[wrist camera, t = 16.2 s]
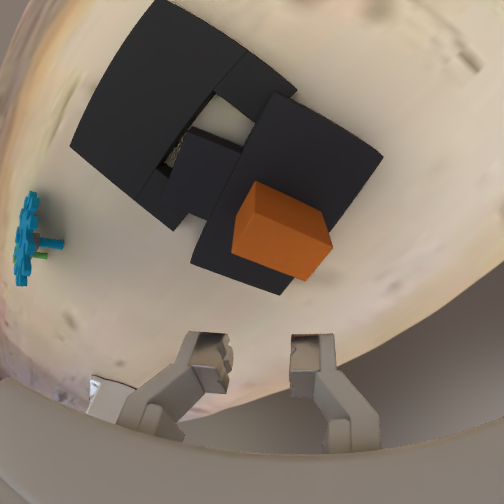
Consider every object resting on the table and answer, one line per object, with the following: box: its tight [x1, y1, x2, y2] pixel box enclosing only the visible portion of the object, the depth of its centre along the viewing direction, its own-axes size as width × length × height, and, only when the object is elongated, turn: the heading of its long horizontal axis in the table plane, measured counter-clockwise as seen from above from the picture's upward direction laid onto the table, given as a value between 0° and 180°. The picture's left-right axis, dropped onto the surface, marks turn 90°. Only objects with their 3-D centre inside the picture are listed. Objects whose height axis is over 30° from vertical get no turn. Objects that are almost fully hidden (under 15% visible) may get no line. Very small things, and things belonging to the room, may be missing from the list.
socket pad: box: [70, 0, 297, 231], centre depth 18 cm, size 14×12×2 cm
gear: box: [13, 191, 64, 287], centre depth 24 cm, size 11×6×10 cm
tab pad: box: [161, 90, 384, 296], centre depth 18 cm, size 14×12×6 cm
